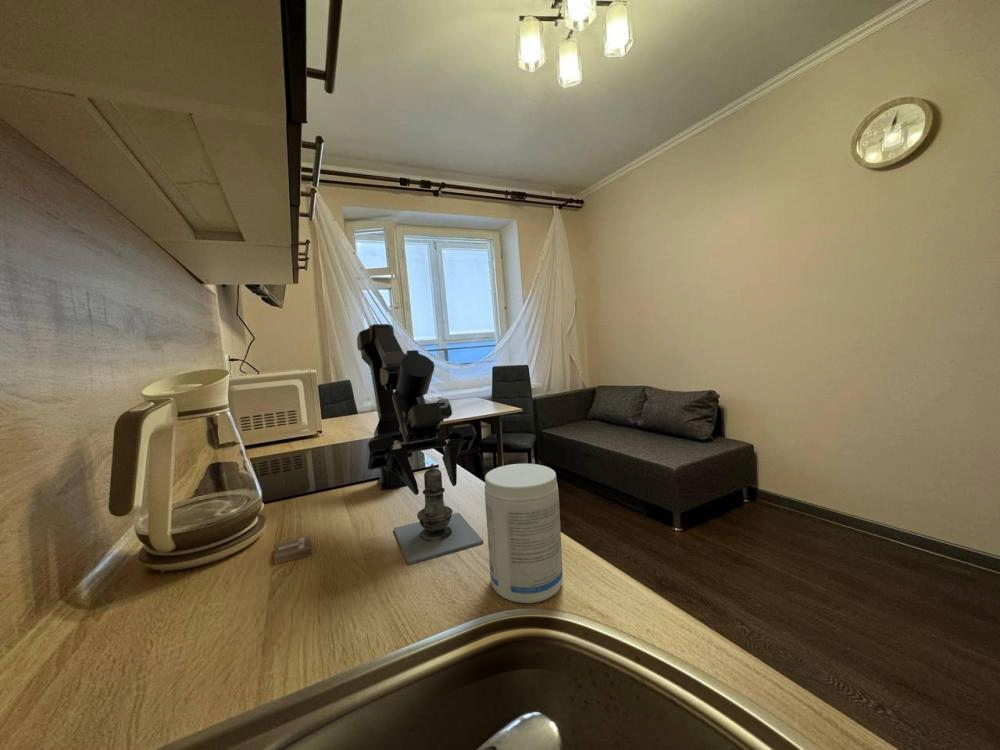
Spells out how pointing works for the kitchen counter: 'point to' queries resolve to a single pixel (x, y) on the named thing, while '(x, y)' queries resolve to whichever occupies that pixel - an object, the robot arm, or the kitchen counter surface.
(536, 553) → the supplement tub
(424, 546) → the slate mat
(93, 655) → the kitchen counter surface
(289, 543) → the letter tile
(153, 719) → the kitchen counter surface
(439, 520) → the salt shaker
